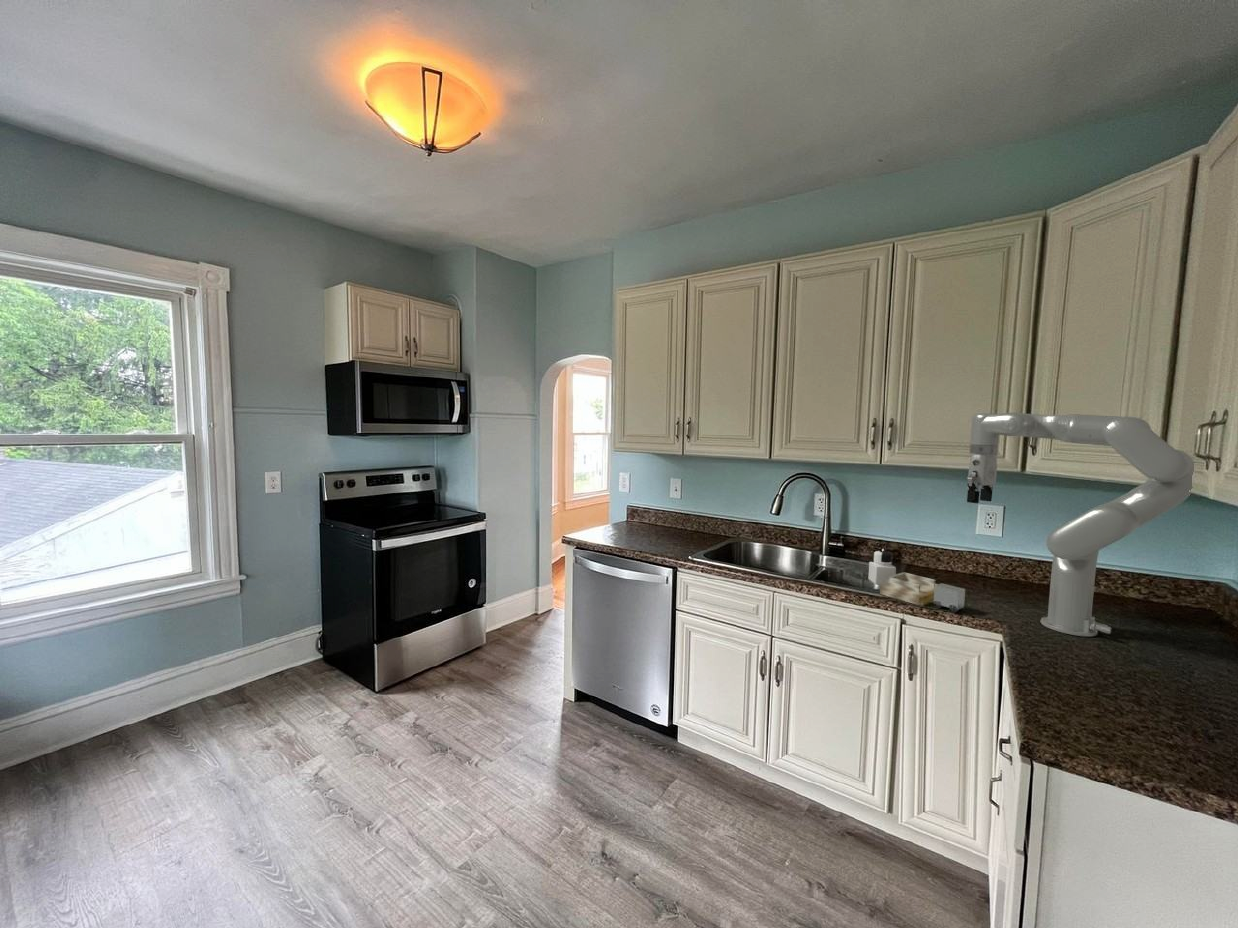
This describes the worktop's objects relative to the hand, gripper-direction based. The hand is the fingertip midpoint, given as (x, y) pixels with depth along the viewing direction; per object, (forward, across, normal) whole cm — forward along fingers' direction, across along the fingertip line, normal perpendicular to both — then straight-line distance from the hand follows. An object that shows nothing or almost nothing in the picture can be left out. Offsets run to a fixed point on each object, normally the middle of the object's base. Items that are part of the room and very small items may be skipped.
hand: (979, 501), depth 165 cm
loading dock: (+35, -7, +15) cm, 39 cm away
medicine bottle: (+36, -3, +29) cm, 46 cm away
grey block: (+35, -12, +2) cm, 37 cm away
